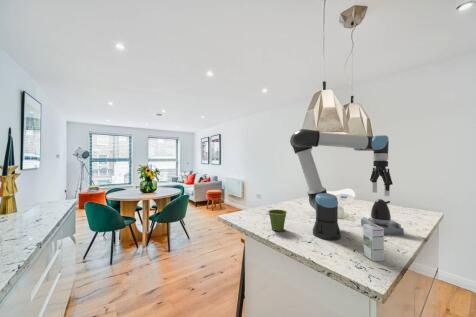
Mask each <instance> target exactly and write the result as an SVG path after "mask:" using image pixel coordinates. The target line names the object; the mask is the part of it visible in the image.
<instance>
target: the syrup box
mask: <svg viewBox="0 0 476 317" xmlns="http://www.w3.org/2000/svg"><path fill="white" fill-rule="evenodd" d="M362 233H363V235H362V236H363V238H362V240H363V242H362V243H363V244H362V245H363V246H362V247H363V252H362V253H363V256H365V257H366V258H368V260H370V261H372V262H384V261H385V235H384V228H382V227H380V226H378V225H375V224H363V226H362Z"/></svg>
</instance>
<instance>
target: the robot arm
mask: <svg viewBox="0 0 476 317" xmlns="http://www.w3.org/2000/svg"><path fill="white" fill-rule="evenodd" d="M289 143H290V146H291V147H292V150H293V152H294V154H295V155H297V156H298V160H299V163H300V166H301V169H302V173H303V175H304V178H305V182H306V185H307V188H308V190H307V196H308V202H309V203H308V204H309V205H310V206H311V208H313V209H314V210H315V221H314V224H313V228H312V235H313V236H315V237H316V238H320V239H323V240H326V241H327V240H329V241H338V240H340V239H342V232H341V229H340V227H339V222H338V217H339V213H338V211H339V210H338V209H339V205H338V204H339V201H338V197H337V196H336V195H335V194H332V193H328V192H327V188H326V187H324V186H323V185H322V181H321V178H320V175H319V171H318V169H317V166H316V162H315V160H314V156H313V154H312V150H313V148H316V147H319V146H320V147H321V146H322V147H332V148H333V147H335V148H345V149H346V148H347V149H348V148H349V149H351V148H352V149H353V150H354V151H358V152H360V151H364V152H365V151H368V152H371V151H372V152H373V154H372V156H373V158H372V159H373V162H372V163H373V165H372V166H373V167H372V171H371V176H370V178H369V181H370V183H371V193H377V192H378V180H379V177H381V179H382V181H383V197H390V190H391V189H390V187H391V186H393V181H392V176H391V173H390V168H387V167H389V145H390V144H389V143H390V142H389V136H388V135H386V134H385V135H381V134H380V135H374V136H373V135H360V134H358V135H357V134H347V133H346V134H344V133H330V132H321V131H320V130H313V129H308V128H307V129H306V128H305V129H304V128H300V129H298V130H296V131H295V132H293V134H292V135H291V136H290V140H289Z"/></svg>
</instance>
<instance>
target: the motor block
mask: <svg viewBox="0 0 476 317" xmlns="http://www.w3.org/2000/svg"><path fill="white" fill-rule="evenodd" d="M363 224H375V225H378V226H380V227H382V228H384V236H385V235H387V236H388V235H389V236H403V237H404V235H405V234H404V230H405V228H404V227H402V224H401V223H399V222H396V221H394V220H392V219H391V220H390V222H389V223H388V224H386V225H380V224H376V223H375V222H374V221H373V220H372V218H371V217H369V218H367V217H365V216H364V217H362V218H361V219H360V225H361V226H362V227H363Z"/></svg>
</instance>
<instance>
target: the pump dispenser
mask: <svg viewBox="0 0 476 317" xmlns="http://www.w3.org/2000/svg"><path fill="white" fill-rule="evenodd" d="M390 203H391V201H390V200H388V201H385V200H383V199H381V198H380V199H377V200H375V202H374V203H373V205H372V207H371V212H370V218H372V220H373V221H374V222H375V223H376V224H380V225H386V224H388V223H389V222H390V220H392V216H391V211H390V208H389V206H388V204H390Z"/></svg>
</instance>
